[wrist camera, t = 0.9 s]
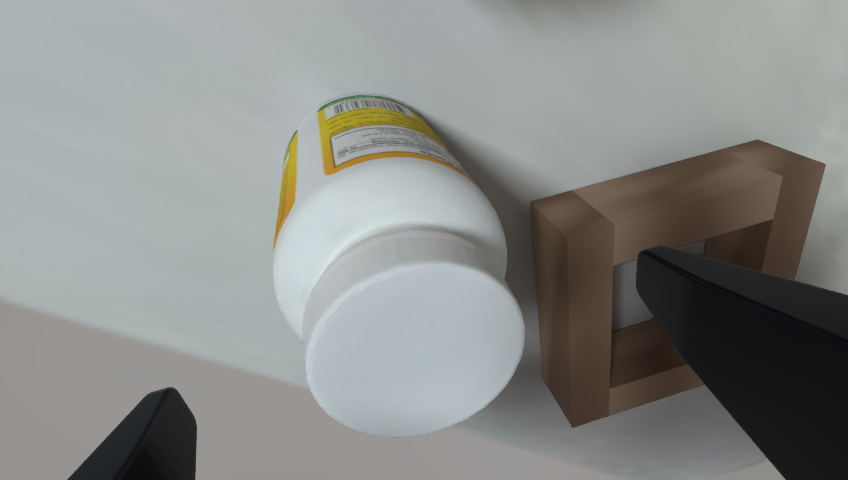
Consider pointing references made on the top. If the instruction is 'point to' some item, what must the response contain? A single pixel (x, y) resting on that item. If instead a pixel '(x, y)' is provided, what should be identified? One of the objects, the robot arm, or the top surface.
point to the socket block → (643, 228)
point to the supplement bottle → (392, 271)
